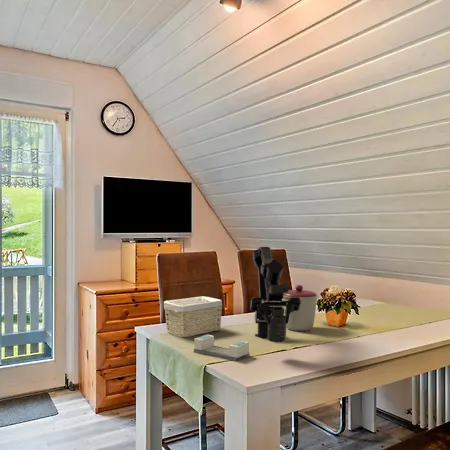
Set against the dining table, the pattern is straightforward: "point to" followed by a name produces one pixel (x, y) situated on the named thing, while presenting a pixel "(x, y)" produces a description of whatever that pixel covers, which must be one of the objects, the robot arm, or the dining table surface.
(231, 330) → the dining table surface
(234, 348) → the module pair
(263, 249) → the robot arm
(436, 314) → the dining table surface
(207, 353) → the rail plate
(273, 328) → the supplement bottle
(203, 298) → the storage basket
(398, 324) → the dining table surface
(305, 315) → the canister
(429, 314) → the dining table surface
